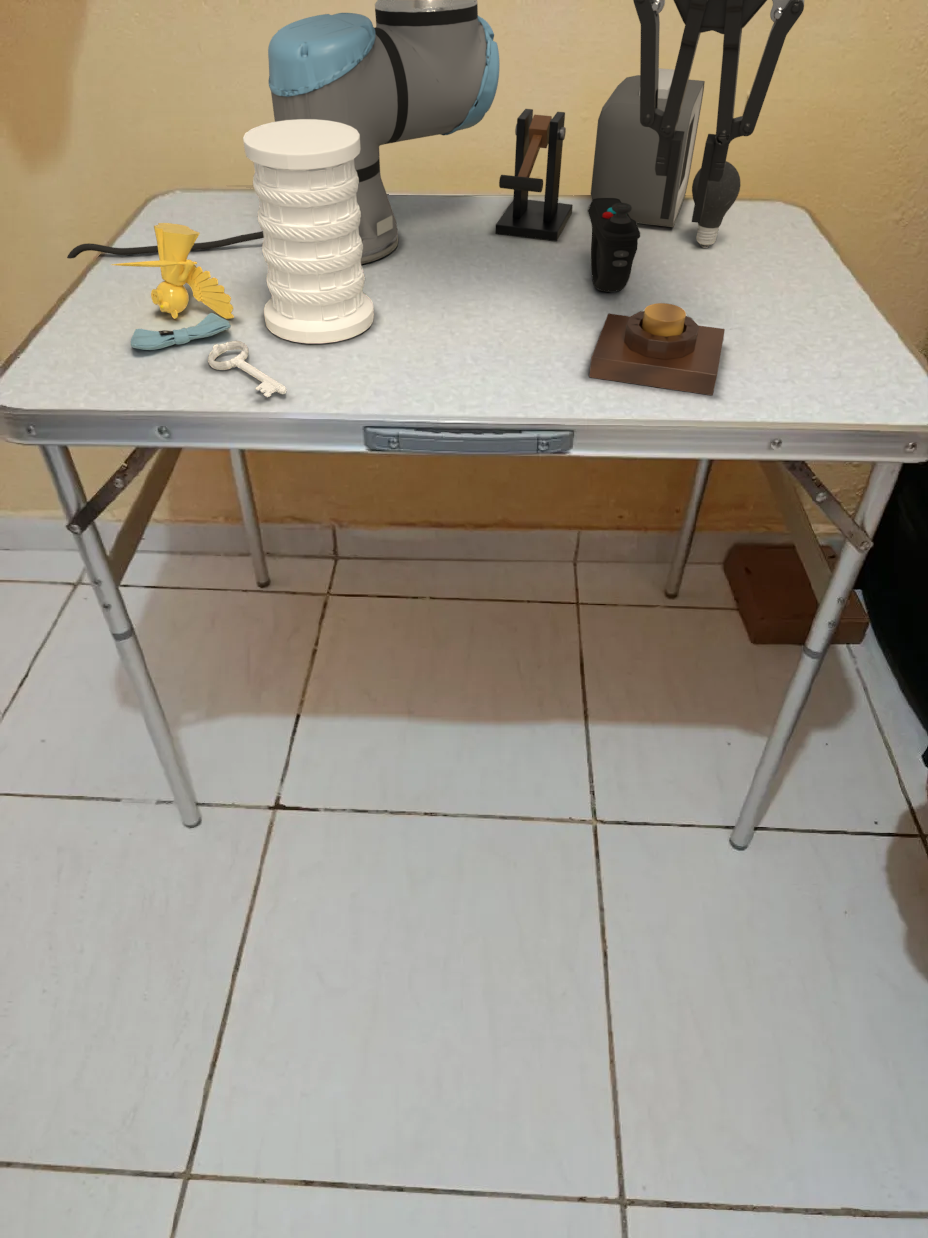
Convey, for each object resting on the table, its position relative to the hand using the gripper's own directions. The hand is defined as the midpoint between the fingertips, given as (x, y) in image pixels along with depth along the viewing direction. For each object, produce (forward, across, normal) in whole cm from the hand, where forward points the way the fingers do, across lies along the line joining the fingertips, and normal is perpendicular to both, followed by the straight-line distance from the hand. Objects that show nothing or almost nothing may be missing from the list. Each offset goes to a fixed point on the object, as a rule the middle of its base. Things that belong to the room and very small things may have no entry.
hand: (681, 214), depth 83 cm
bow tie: (+14, -49, -8) cm, 52 cm away
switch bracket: (+14, -20, +33) cm, 41 cm away
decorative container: (+14, -36, -1) cm, 39 cm away
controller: (+15, -8, +17) cm, 24 cm away
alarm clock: (+15, -8, +43) cm, 46 cm away
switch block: (+14, 0, 0) cm, 14 cm away
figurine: (+5, -52, -5) cm, 52 cm away
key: (+14, -39, -16) cm, 45 cm away
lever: (+6, -20, +29) cm, 36 cm away
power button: (+11, 0, 0) cm, 11 cm away
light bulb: (+15, +2, +32) cm, 35 cm away
